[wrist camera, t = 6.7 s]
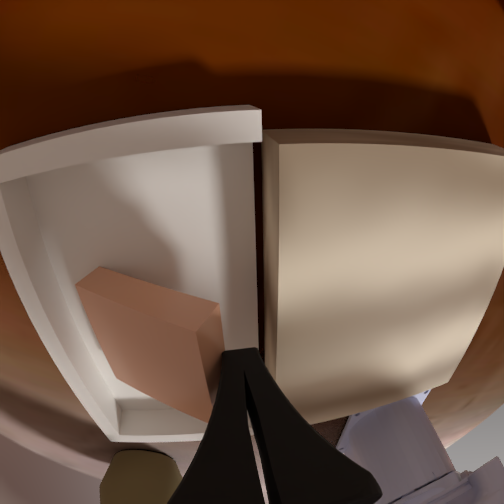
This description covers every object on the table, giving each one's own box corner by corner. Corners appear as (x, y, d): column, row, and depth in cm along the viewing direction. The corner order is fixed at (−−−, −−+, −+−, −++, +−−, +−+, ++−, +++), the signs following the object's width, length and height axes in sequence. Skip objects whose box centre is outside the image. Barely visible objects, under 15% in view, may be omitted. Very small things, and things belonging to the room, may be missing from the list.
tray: (258, 402, 20) (265, 432, 18) (114, 412, 19) (110, 441, 17) (249, 104, 11) (261, 109, 9) (7, 147, 10) (-25, 163, 8)
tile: (232, 402, 14) (217, 427, 12) (133, 360, 16) (116, 378, 15) (219, 303, 11) (195, 331, 9) (99, 266, 13) (74, 284, 12)
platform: (429, 354, 21) (447, 382, 18) (264, 393, 20) (273, 431, 17) (492, 144, 13) (531, 161, 10) (260, 129, 11) (279, 144, 9)
